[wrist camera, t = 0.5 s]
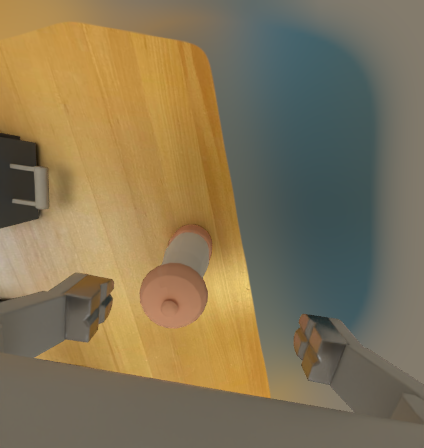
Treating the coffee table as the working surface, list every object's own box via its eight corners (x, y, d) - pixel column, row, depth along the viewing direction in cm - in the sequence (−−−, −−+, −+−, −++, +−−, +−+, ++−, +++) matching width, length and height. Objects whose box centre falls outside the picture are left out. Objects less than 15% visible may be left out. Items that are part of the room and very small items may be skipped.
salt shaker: (220, 245, 38) (224, 314, 20) (191, 270, 40) (168, 358, 21) (192, 215, 37) (167, 259, 19) (162, 243, 38) (112, 309, 20)
